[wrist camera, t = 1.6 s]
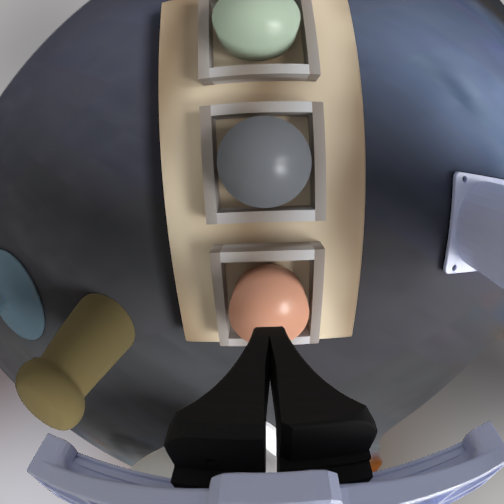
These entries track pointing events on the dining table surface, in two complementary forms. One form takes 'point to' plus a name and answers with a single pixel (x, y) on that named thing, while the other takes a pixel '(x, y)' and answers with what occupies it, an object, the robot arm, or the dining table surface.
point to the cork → (75, 361)
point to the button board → (252, 218)
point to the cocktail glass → (19, 299)
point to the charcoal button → (264, 161)
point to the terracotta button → (268, 301)
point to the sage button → (256, 27)
